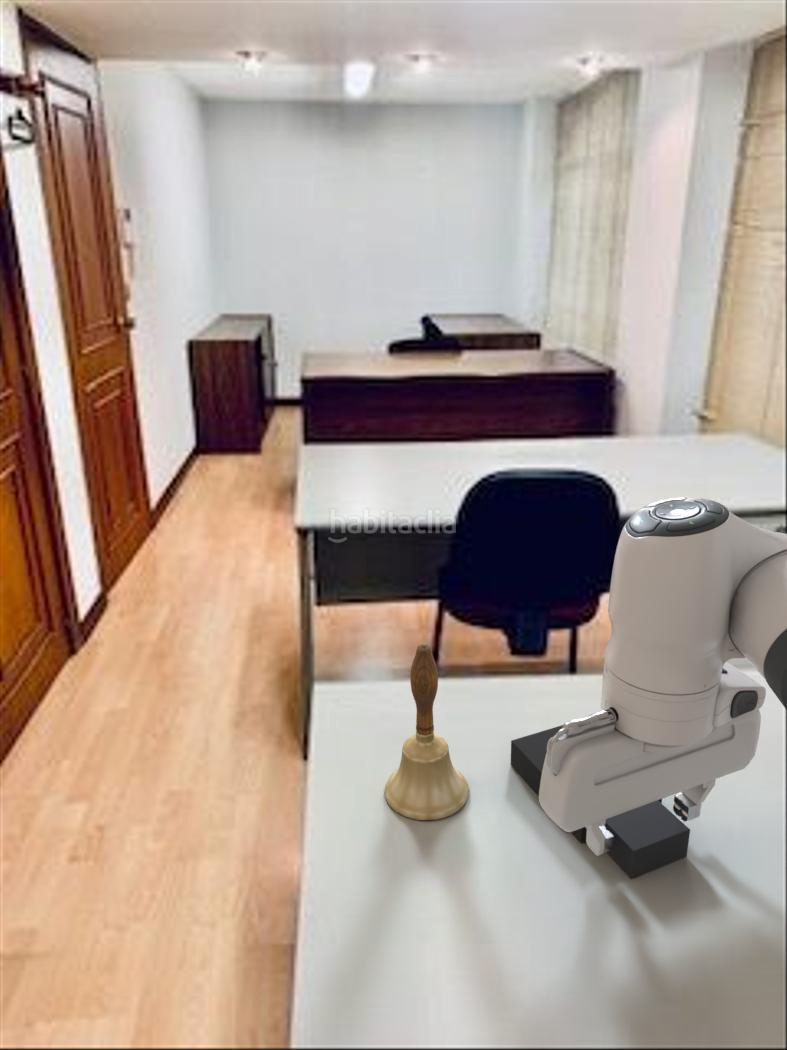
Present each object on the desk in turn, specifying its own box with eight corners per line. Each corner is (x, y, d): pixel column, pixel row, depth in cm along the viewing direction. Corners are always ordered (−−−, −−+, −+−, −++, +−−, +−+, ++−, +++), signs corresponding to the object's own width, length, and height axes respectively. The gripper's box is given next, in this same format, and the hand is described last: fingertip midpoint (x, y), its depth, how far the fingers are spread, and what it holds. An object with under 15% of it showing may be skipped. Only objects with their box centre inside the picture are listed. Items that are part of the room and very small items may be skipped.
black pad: (582, 741, 81) (584, 718, 80) (660, 813, 71) (663, 787, 70) (510, 764, 78) (510, 740, 77) (580, 843, 68) (582, 816, 67)
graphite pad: (631, 803, 72) (634, 778, 71) (686, 856, 66) (690, 829, 65) (578, 822, 70) (580, 796, 69) (630, 879, 64) (633, 851, 63)
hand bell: (370, 780, 76) (363, 640, 71) (441, 754, 80) (440, 619, 74) (409, 833, 69) (405, 682, 64) (485, 802, 73) (487, 657, 67)
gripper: (574, 752, 55) (564, 898, 60) (782, 685, 62) (759, 820, 67) (526, 707, 60) (521, 843, 65) (723, 650, 68) (705, 777, 73)
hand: (643, 831), depth 66 cm, fingers open, 8 cm apart
